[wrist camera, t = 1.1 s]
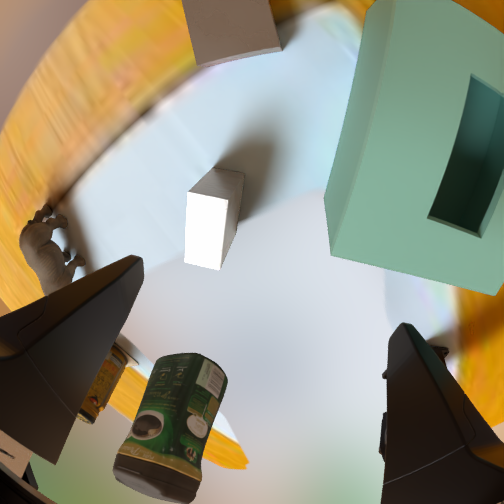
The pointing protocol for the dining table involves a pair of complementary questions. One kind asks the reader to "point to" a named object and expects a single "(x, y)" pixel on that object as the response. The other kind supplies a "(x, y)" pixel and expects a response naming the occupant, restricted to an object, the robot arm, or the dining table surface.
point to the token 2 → (212, 217)
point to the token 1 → (230, 29)
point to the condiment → (104, 383)
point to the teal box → (423, 147)
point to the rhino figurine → (47, 251)
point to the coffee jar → (172, 428)
